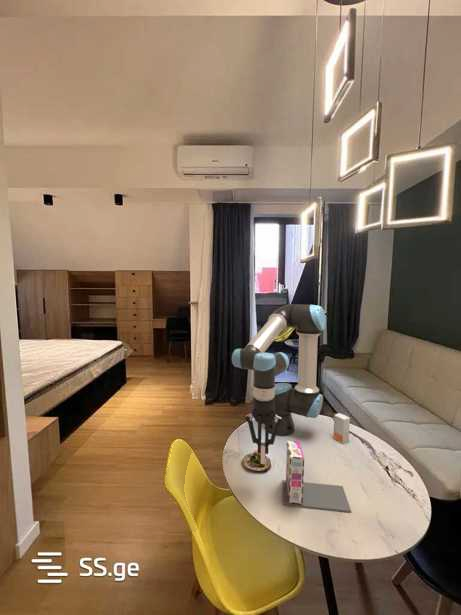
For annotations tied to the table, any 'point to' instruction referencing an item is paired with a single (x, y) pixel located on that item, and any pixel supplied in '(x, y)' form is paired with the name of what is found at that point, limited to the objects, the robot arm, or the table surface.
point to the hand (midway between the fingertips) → (262, 461)
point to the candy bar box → (294, 472)
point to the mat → (320, 497)
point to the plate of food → (256, 462)
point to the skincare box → (341, 428)
